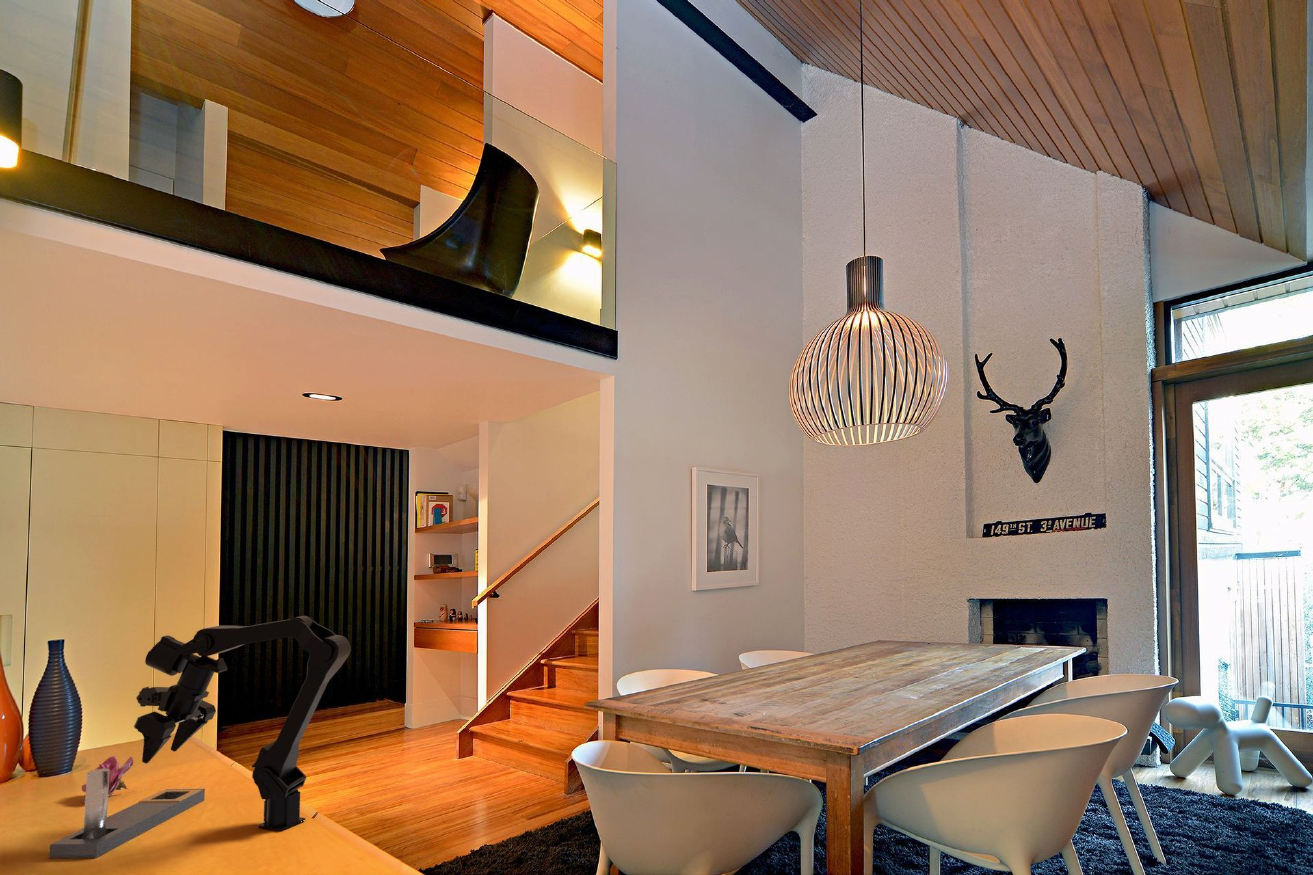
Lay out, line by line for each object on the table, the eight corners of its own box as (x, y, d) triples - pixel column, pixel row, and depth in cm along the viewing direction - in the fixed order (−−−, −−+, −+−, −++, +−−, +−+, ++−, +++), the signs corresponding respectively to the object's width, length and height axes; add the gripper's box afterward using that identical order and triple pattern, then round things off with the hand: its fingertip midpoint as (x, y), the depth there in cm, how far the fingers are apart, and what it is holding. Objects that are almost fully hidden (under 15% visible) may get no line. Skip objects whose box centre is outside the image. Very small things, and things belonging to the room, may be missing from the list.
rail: (96, 857, 147) (97, 842, 148) (49, 858, 148) (50, 842, 148) (204, 800, 180) (204, 787, 180) (165, 800, 180) (166, 788, 181)
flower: (86, 822, 177) (60, 785, 178) (106, 811, 187) (83, 776, 187) (135, 786, 180) (110, 750, 181) (153, 778, 190) (129, 743, 191)
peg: (109, 845, 154) (113, 769, 155) (90, 852, 150) (94, 774, 152) (97, 842, 155) (101, 767, 157) (77, 849, 152) (82, 772, 153)
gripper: (185, 662, 176) (153, 730, 174) (128, 676, 158) (92, 752, 156) (230, 682, 175) (198, 750, 174) (178, 699, 157) (142, 775, 155)
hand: (159, 756), depth 165 cm, fingers open, 9 cm apart
